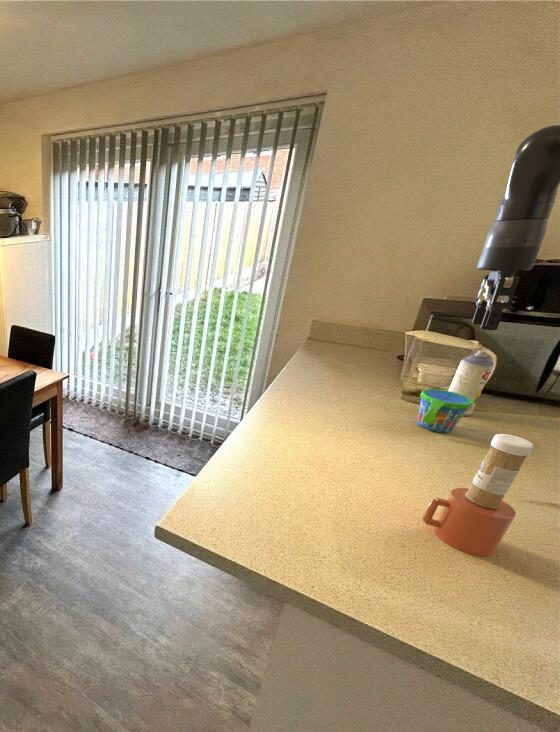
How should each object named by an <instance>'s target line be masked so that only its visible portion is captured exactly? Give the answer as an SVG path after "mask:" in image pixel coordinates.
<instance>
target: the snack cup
mask: <svg viewBox="0 0 560 732" xmlns="http://www.w3.org/2000/svg"><path fill="white" fill-rule="evenodd" d="M419 395H420V402H419V403H420V404H419V409H418V416H417V425H419V426H420V427H421V428H424V429H426V430H428V431H432V432H434V433H435V432H436V433H445V434H447V433H451V432H452V431H453V430H454V428H455V427H456V426H457V425H458V423H459V422H460V420H461V419H462V418H463V417H464V416H463V415H464V413H465V411H466V410H467V409H469V408H470V407H471V405H472V403H473V401H472V400H471V399H470V398H468V397H466V396H463V395H461V394H458V393H454V392H450V391H448V390H444V389H437V388H427V389H426V388H425V389H423V390H421V392H420V394H419Z"/></svg>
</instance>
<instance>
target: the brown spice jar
mask: <svg viewBox="0 0 560 732" xmlns="http://www.w3.org/2000/svg"><path fill="white" fill-rule="evenodd" d="M533 449H534V444H533V443H532V442H531V441H529V440H527V439H526V438H523V437H520V436H517V435H515V434H514V435H512V434H508V433H497V434H494V436H493V438H492V440H491V442H490V448H489V449H488V451H487V454H486V455H485V457H484V459H483V460H482V462H481V464H480V465H479V469H478V470H477V471H476V474H475V475H474V477H473V479H472V482H471V484H470V486H469V488H468V489H469V490H468V492H466V494H465V496H466V498H467V499H468V500H469V501H471V502H473V503H474V504H476V505H479V506H482V507H485V508H490V509H497V508H499V507H500V502H501V501H503V499H504V497H505V496H506V495H507V493H508V491H509V490H510V488H511V486H512V485H513V483H514V481H515V479H516V478H517V476H518V474H519V472H520V470H521V467H522V466H523V464H524V461H525V460H526V458H528V456H530V454H531V452H532V451H533Z"/></svg>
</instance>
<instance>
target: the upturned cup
mask: <svg viewBox="0 0 560 732" xmlns="http://www.w3.org/2000/svg"><path fill="white" fill-rule="evenodd" d="M468 490H469V488H468V487H467V488H465V487H456V488H453V489H452V490H451V491H450V493H449V495H448V497H447V499H444V498H439V497H435V498H432V499H431V500H430V501H429V503H428V504H427V505H428V506H427V507H426V509H425V511H424V514H423V516H422V521H423V523H425V525H428V526H431V527H433V532H434V534H435V535H436V536H437V537H438V538H439V539H440V540H441V541H442V542H444V543H446V544H447V545H448V546H450V547H452V548H454V549H456V550H457V551H461V552H463V553H466V554H469V555H472V556H475V557H477V556H478V557H491V556H493V555H494V554H495V552H496V551H497V548H498V546H499V545H500V543H501V542H502V540H503V538H504V537H505V535H506V533H507V531H508V530H509V528H510V526H511V524H512V522H513V521H514V519H515V518H516V516H517V512H516V510H515V509H514V507H512V506H511V505H510V504H509V503H507V502H505V500H502V501H501V502H500V507H499V508H497V509H490V508H485V507H482V506H479V505H476V504H474V503H473V502H471V501H469V500H468V499H467V498H466V496H465V494H466V492H468ZM439 506H441V507H442V509H441V512H440V513H439V515H438V518H437V519H434V515H435V514H436V511H437V509H438V507H439Z"/></svg>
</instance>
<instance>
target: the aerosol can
mask: <svg viewBox="0 0 560 732" xmlns="http://www.w3.org/2000/svg"><path fill="white" fill-rule="evenodd" d="M494 364H495V363H494V362H493V361H492V360H491V358H489V356H488V355H487V351H486V350H482V349H481V350H478V351H477V352H476V353H473V354H471V355H468V356H466V357H462V360H460V362H459V365H458V367H457V369H456V371H455V374H454V376H453V378H452V381H451V384H450V385H449V388H448V390H447V391H450V392H454V393H458V394H461V395H463V396H466V397H468V398H470V399H471V400H472V401H473V403H472V405H471V407H470V408H469V409H467V410H466V411H465V413H464V415H463V416H462V417H471V416H472V413H473V411H474V409H475V407H476V405H477V403H478V402H479V401H478V400H479V399H480V398H481V397H480V396H481V395H482V392H483V391H484V388H485V386H486V384H487V381H488V379H489V377H490V375H491V373H492V371H493V369H494Z"/></svg>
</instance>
